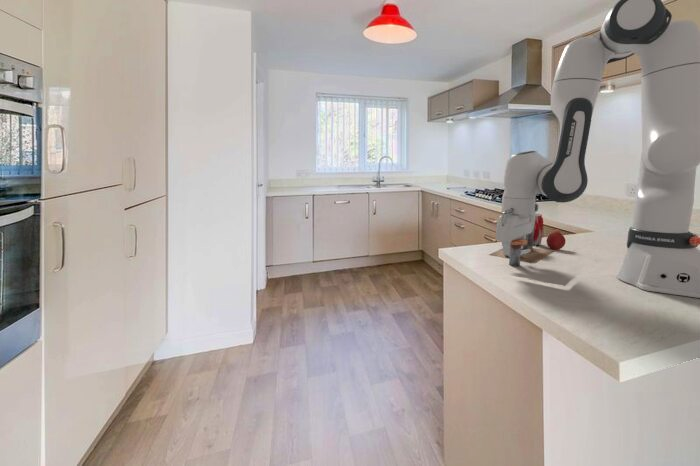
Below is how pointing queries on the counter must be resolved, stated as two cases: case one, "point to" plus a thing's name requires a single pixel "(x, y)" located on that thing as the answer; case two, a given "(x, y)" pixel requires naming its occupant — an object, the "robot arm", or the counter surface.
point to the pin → (516, 251)
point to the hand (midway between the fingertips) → (513, 251)
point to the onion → (556, 240)
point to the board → (527, 255)
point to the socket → (529, 241)
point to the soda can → (538, 229)
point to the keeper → (521, 252)
